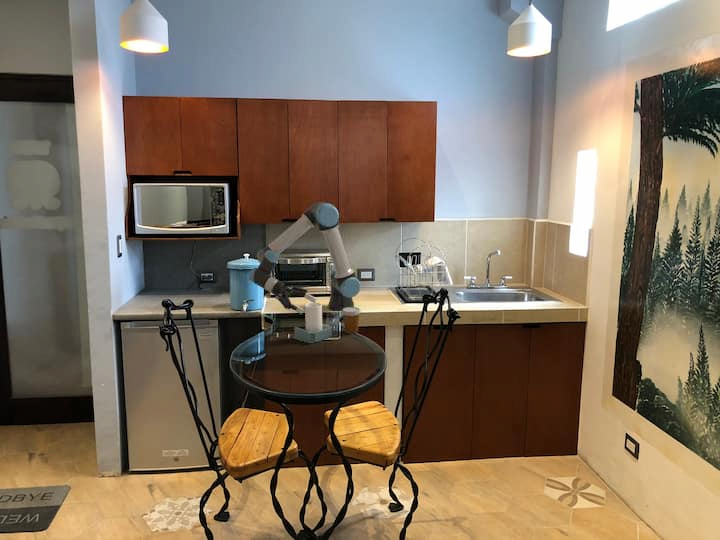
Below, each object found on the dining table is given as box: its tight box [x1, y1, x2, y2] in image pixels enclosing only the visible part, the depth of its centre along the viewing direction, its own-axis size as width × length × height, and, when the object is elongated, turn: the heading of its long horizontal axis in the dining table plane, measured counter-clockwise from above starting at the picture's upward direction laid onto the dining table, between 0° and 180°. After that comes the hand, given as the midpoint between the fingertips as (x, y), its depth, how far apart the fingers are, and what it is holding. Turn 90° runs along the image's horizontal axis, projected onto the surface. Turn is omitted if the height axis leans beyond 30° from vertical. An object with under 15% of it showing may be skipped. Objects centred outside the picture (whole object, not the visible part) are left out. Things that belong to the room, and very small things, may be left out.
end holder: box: [292, 323, 337, 344], centre depth 280 cm, size 16×14×5 cm
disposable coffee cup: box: [341, 306, 361, 335], centre depth 286 cm, size 10×10×12 cm
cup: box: [304, 302, 323, 332], centre depth 279 cm, size 8×8×16 cm
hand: (309, 306), depth 290 cm, fingers open, 13 cm apart
